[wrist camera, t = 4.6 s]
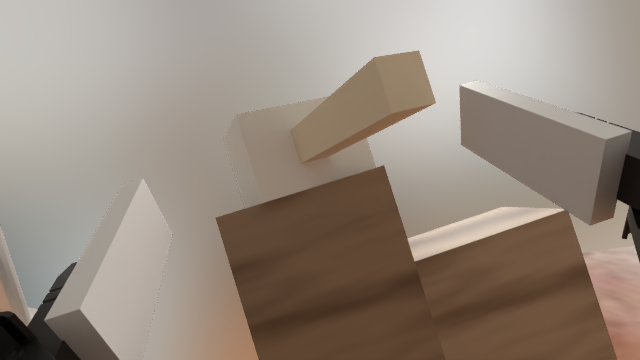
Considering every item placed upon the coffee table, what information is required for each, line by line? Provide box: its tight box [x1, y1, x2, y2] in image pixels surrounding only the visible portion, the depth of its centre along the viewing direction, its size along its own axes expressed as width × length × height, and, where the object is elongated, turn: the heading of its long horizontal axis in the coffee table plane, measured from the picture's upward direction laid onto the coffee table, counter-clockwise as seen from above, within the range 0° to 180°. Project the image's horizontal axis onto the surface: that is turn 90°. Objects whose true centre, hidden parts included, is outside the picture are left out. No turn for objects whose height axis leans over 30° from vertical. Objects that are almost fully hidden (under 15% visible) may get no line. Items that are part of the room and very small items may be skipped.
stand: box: [216, 166, 617, 360], centre depth 29 cm, size 8×24×27 cm, turn 93°
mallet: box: [223, 51, 436, 209], centre depth 23 cm, size 17×9×6 cm, turn 22°
